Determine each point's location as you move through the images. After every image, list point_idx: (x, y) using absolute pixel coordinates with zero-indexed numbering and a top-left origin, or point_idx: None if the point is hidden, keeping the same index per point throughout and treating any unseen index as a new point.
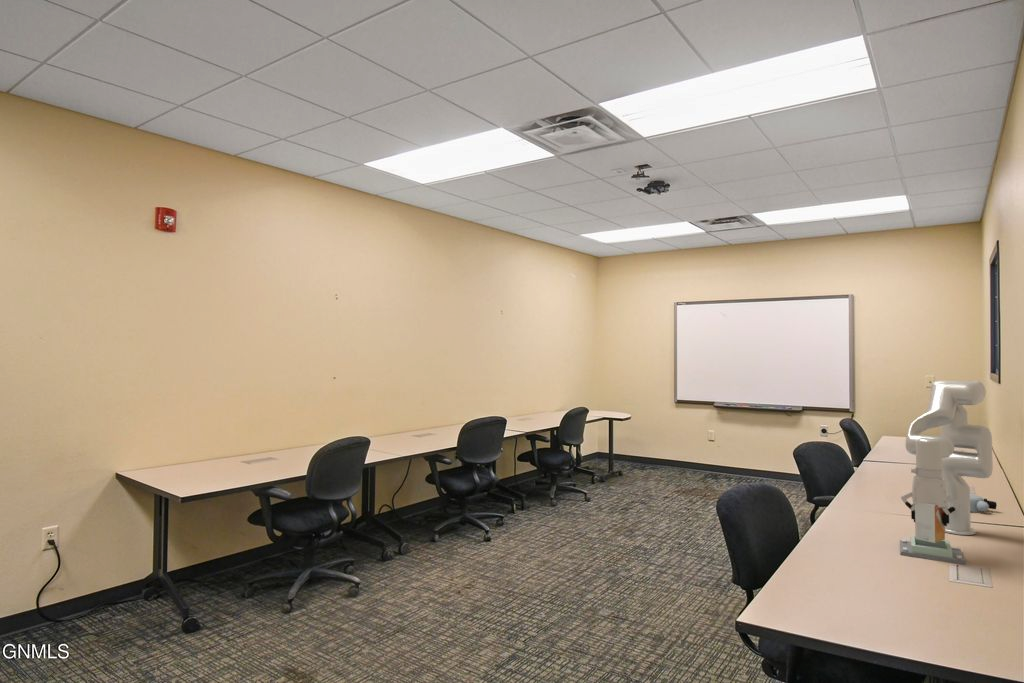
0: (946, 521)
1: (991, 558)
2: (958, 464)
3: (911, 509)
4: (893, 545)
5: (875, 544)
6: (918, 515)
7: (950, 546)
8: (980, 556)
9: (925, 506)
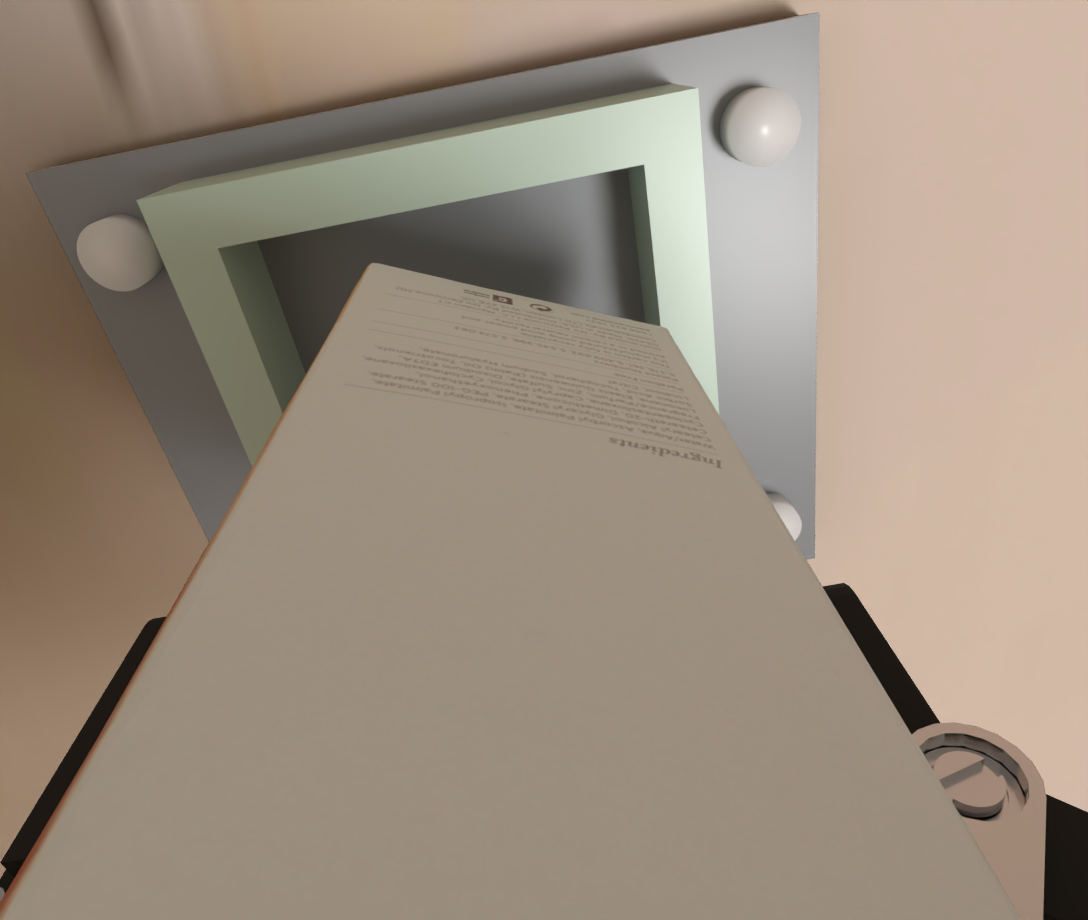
0: (110, 696)
1: (4, 614)
2: None
3: (983, 763)
4: (864, 420)
5: (1060, 318)
6: (733, 565)
7: (249, 449)
8: (97, 611)
9: (549, 901)
